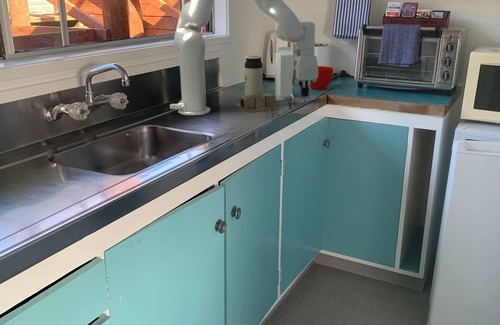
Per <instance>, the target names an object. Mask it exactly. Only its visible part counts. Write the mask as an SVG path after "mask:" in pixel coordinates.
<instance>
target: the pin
mask: <svg viewBox="0 0 500 325" xmlns="http://www.w3.org/2000/svg"><path fill="white" fill-rule="evenodd" d="M294 101H295V95H294V94H293V93H292V94H290V95H286V96H276V103H281V102H294Z"/></svg>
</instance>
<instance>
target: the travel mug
mask: <svg viewBox="0 0 500 325" xmlns="http://www.w3.org/2000/svg"><path fill="white" fill-rule="evenodd" d="M244 58H245V63H244V96H248V95H250V96H251V95H257V94H264V91H263V90H264V89H263V86H264V85H263V80H264V79H263V76H264V75H263V74H264V73H263V72H264V70H263V67H264V66H263V61H262V58H263V56H262V55H256V54H255V55H254V54H251V55H246V56H245V57H244Z"/></svg>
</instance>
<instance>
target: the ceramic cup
mask: <svg viewBox="0 0 500 325" xmlns="http://www.w3.org/2000/svg"><path fill="white" fill-rule="evenodd" d="M333 75H334V68H333V67H331V66H325V65H318V78H317V79H316V81H315V82H312V84H311V85H310V87H309V88H310V89H312V90H315V91H325V90H326V89H327V88H328V87H329V85H331V82H332V80H333Z"/></svg>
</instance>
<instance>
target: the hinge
mask: <svg viewBox="0 0 500 325" xmlns="http://www.w3.org/2000/svg"><path fill="white" fill-rule="evenodd" d="M276 97H277V96H276V95H275V93H271V92H270V93H269V92H268V93H263V94H257V95H251V96H250V95H248V96H245V95H241V96H239V104H236V105H235V106H236V108H239V109H241V110H242V111H245V112H247V113H250V114H251V113H256V112H257V113H258V112H264V111H274V110H280V109H281V107H280V106H278V105H277V102H276Z"/></svg>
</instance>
